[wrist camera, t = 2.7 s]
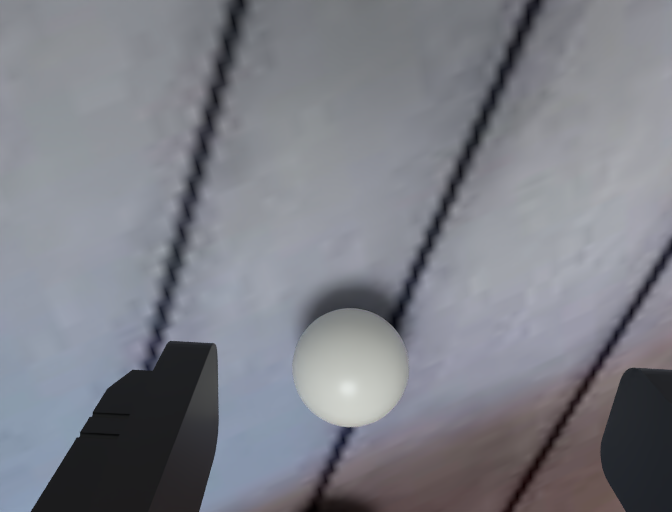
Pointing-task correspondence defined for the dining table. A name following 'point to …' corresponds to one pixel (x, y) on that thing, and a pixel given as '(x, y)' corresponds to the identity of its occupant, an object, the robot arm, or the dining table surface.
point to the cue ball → (350, 367)
